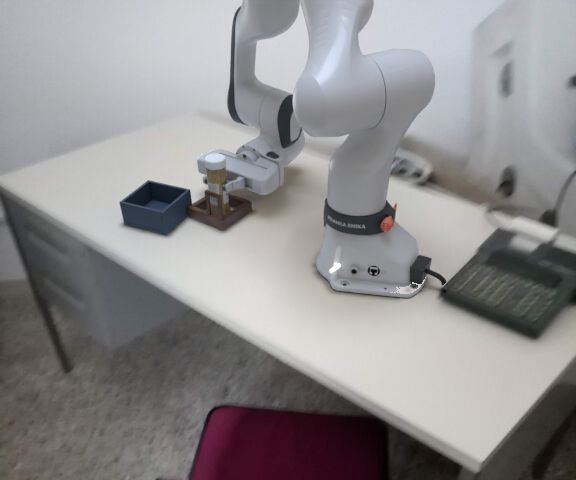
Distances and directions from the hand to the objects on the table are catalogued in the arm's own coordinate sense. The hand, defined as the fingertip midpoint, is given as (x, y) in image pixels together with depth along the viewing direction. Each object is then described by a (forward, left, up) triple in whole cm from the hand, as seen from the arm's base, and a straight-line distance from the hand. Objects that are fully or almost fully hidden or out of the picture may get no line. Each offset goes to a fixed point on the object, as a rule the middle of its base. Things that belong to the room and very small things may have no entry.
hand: (215, 184), depth 130 cm
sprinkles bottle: (0, -1, -8) cm, 8 cm away
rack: (0, -1, -8) cm, 8 cm away
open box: (+12, +6, -8) cm, 15 cm away
